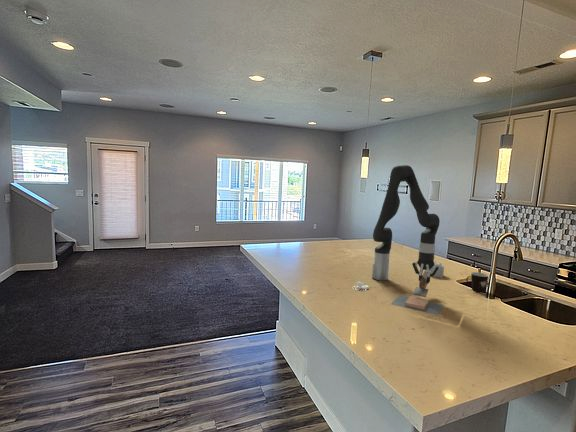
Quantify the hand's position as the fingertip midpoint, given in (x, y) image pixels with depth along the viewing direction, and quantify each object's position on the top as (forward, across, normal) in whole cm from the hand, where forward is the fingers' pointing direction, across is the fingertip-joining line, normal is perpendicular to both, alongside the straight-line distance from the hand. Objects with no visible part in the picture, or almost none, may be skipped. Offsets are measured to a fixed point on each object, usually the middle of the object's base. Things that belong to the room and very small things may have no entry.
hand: (424, 282), depth 171 cm
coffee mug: (+9, +22, +34) cm, 42 cm away
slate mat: (+9, 0, -14) cm, 16 cm away
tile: (+7, 0, -9) cm, 11 cm away
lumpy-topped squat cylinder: (+9, -4, +54) cm, 55 cm away
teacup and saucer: (+10, -30, -8) cm, 33 cm away
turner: (+2, 0, -1) cm, 2 cm away
